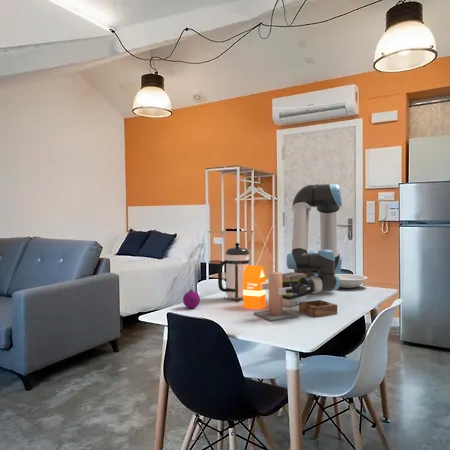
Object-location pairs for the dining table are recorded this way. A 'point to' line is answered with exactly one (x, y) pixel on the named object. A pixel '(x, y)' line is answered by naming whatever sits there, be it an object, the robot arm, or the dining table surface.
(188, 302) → the christmas ornament
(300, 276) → the tea box
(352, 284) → the soup bowl
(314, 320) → the dining table surface
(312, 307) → the pocket
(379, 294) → the dining table surface
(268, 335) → the dining table surface
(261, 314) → the mat
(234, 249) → the coffee press
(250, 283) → the orange juice
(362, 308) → the dining table surface
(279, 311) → the tall peach cylinder
